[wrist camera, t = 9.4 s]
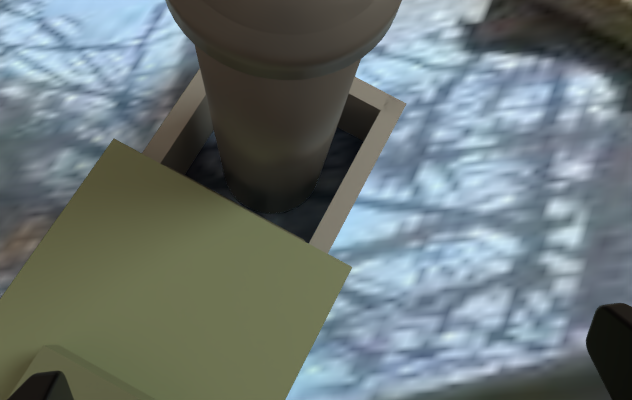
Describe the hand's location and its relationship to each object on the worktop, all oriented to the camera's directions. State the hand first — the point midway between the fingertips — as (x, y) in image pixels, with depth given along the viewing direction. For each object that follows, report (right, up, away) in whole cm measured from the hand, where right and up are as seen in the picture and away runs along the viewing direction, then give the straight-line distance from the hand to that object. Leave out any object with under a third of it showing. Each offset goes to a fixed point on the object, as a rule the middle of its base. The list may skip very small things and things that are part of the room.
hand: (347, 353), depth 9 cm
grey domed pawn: (-2, +4, +15) cm, 16 cm away
